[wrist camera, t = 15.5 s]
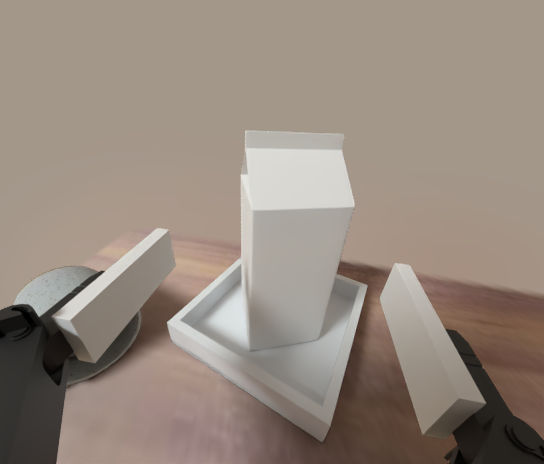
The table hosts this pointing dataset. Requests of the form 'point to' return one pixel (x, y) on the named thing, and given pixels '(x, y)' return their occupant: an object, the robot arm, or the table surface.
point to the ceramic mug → (56, 287)
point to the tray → (273, 350)
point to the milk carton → (291, 233)
